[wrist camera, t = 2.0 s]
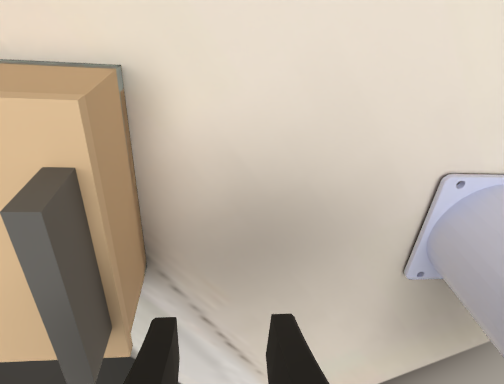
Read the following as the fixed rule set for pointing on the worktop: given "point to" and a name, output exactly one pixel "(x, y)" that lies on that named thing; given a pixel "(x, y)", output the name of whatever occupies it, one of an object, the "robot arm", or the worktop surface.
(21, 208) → the lid
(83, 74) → the box
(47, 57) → the worktop surface
